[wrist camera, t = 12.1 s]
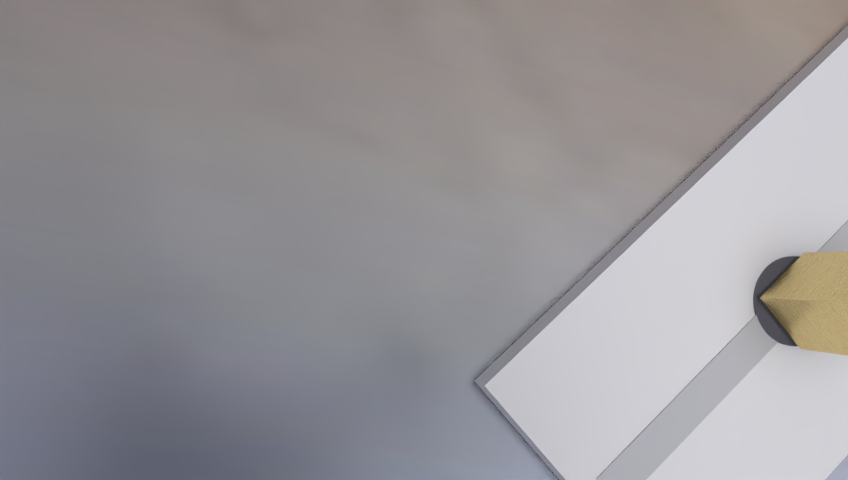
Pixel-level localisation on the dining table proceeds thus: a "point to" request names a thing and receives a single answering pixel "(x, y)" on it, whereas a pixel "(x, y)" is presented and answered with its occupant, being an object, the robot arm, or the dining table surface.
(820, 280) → the block
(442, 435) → the dining table surface
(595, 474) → the board
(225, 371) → the dining table surface
